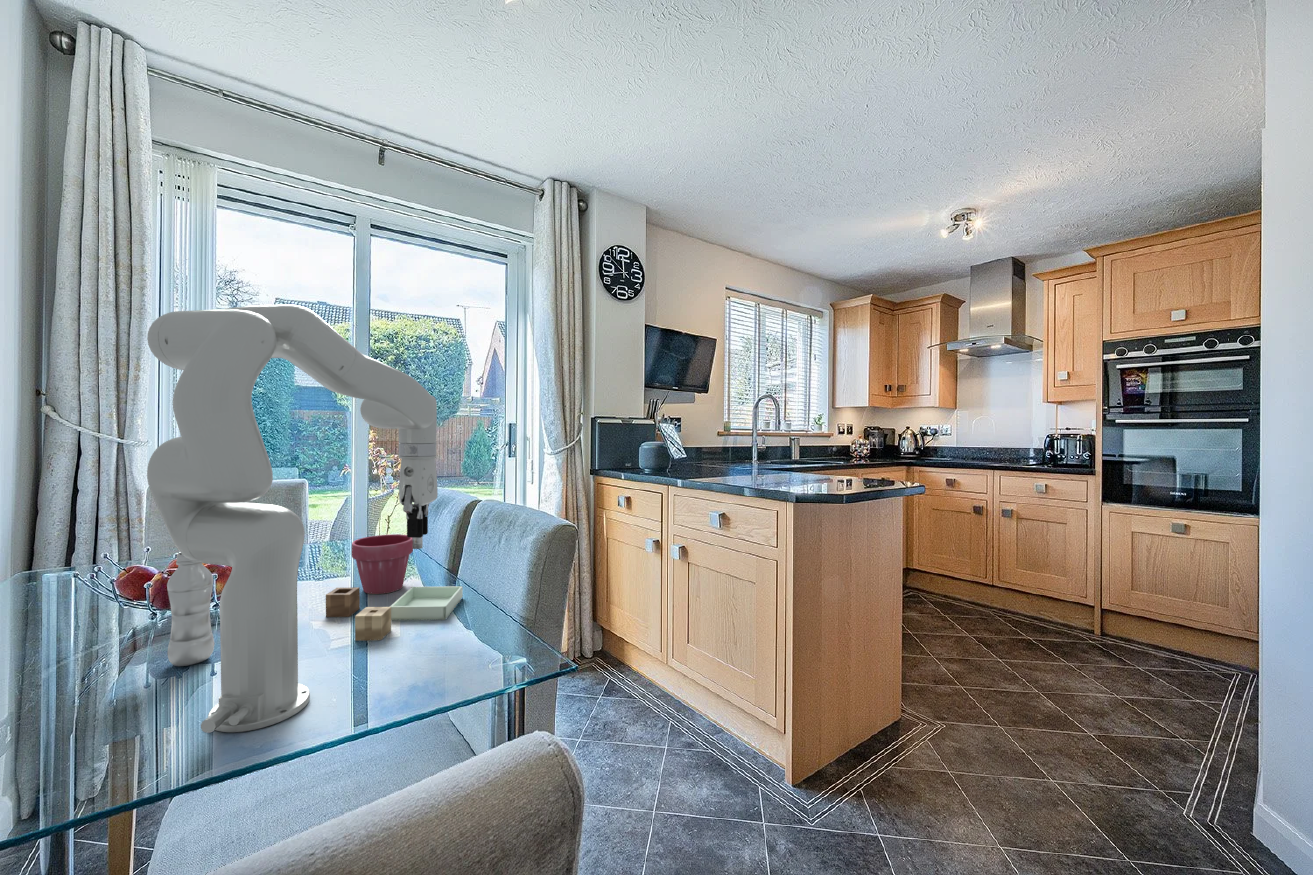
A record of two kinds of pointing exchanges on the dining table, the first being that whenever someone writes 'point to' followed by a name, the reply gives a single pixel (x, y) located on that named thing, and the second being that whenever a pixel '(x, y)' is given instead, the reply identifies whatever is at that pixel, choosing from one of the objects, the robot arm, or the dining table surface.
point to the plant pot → (382, 561)
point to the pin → (418, 539)
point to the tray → (426, 603)
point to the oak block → (372, 623)
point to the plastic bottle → (190, 613)
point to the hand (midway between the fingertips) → (417, 535)
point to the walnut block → (342, 602)
